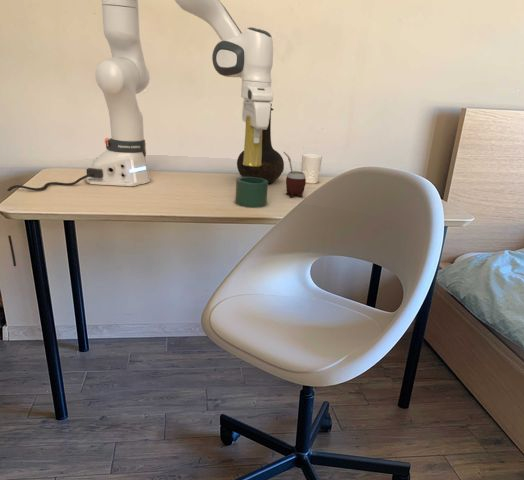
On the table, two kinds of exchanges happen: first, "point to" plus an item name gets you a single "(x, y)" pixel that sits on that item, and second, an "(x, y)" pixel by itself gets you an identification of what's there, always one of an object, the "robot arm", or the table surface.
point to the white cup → (311, 167)
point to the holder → (251, 191)
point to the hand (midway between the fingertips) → (253, 141)
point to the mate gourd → (295, 182)
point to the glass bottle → (264, 160)
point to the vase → (252, 147)
